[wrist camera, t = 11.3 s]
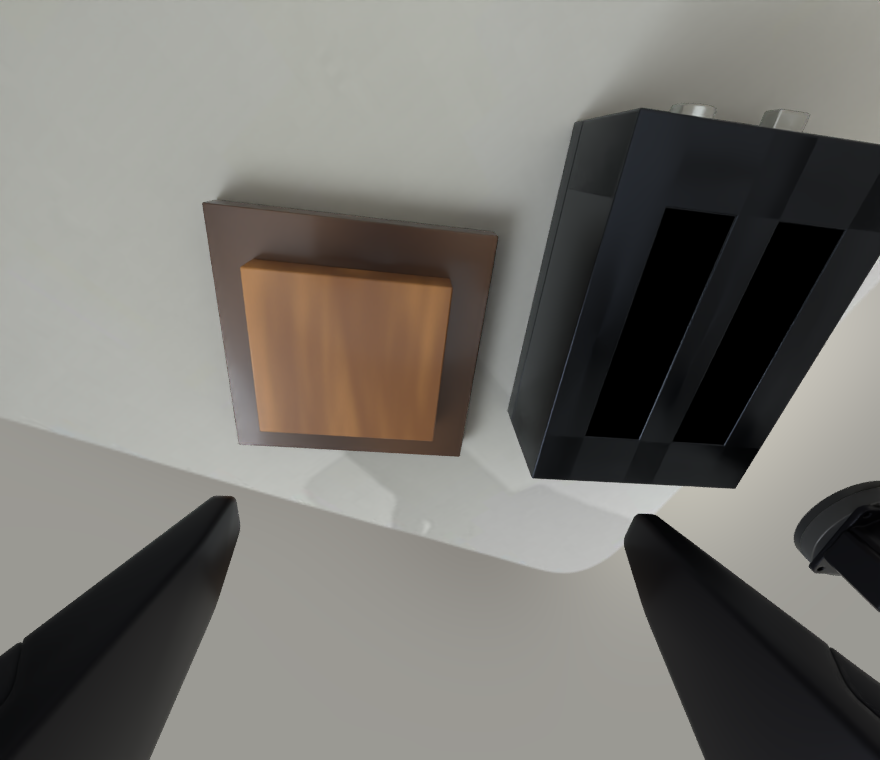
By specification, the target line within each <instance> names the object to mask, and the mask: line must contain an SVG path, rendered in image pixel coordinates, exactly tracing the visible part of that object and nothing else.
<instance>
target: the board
mask: <svg viewBox="0 0 880 760" xmlns="http://www.w3.org/2000/svg"><path fill="white" fill-rule="evenodd" d="M202 205H203V211H204V218H205V224H206V231H207V238H208V244H209V251H210V257H211V264H212V270H213V277H214V284H215V290H216V297H217V303H218V310H219V316H220V323H221V330H222V336H223V343H224V349H225V356H226V362H227V369H228V376H229V382H230V389H231V395H232V402H233V409H234V415H235V422H236V428H237V435H238V441H239V444H242V445H260V446H278V447H296V448H314V449H331V450H349V451H367V452H385V453H403V454H421V455H439V456H456V457H459V456H460V452H461V446H462V441H463V435H464V429H465V424H466V418H467V412H468V407H469V401H470V395H471V390H472V384H473V378H474V373H475V367H476V361H477V356H478V350H479V344H480V339H481V333H482V327H483V322H484V316H485V310H486V305H487V299H488V293H489V288H490V282H491V276H492V270H493V265H494V259H495V253H496V248H497V242H498V236H497V235H496V234H495V233H494V232H492V231H483V230H474V229H466V228H457V227H448V226H440V225H431V224H422V223H414V222H405V221H396V220H388V219H379V218H370V217H361V216H353V215H344V214H335V213H327V212H318V211H309V210H301V209H292V208H283V207H274V206H266V205H257V204H248V203H240V202H231V201H222V200H212V201H207V202H203V203H202ZM252 259H257V260H267V261H277V262H287V263H297V264H307V265H317V266H327V267H337V268H347V269H357V270H367V271H377V272H388V273H398V274H408V275H418V276H428V277H438V278H448V279H450V280H451V283H452V287H453V292H452V300H451V308H450V315H449V323H448V331H447V338H446V346H445V354H444V361H443V369H442V377H441V384H440V392H439V400H438V407H437V415H436V423H435V430H434V438H433V441H419V440H402V439H384V438H367V437H350V436H332V435H315V434H298V433H281V432H263V431H260V428H259V420H258V411H257V403H256V395H255V387H254V378H253V370H252V362H251V354H250V345H249V337H248V329H247V321H246V313H245V304H244V296H243V288H242V280H241V271H240V267H241V266H242V265H244V264H245V263H247V262H249V261H250V260H252Z"/></svg>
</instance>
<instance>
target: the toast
mask: <svg viewBox="0 0 880 760" xmlns="http://www.w3.org/2000/svg"><path fill="white" fill-rule="evenodd" d="M240 271H241V280H242V288H243V296H244V304H245V313H246V321H247V329H248V337H249V345H250V354H251V362H252V370H253V378H254V387H255V395H256V403H257V411H258V420H259V428H260V431H263V432H281V433H298V434H315V435H332V436H350V437H367V438H384V439H402V440H419V441H433V438H434V430H435V423H436V415H437V407H438V400H439V392H440V384H441V377H442V369H443V361H444V354H445V346H446V338H447V331H448V323H449V315H450V308H451V300H452V292H453V287H452V283H451V280H450V279H448V278H438V277H428V276H418V275H408V274H398V273H388V272H377V271H367V270H357V269H347V268H337V267H327V266H317V265H307V264H297V263H287V262H277V261H267V260H257V259H252V260H250V261H249V262H247V263H245V264H244V265H242V266H241V267H240Z"/></svg>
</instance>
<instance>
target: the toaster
mask: <svg viewBox="0 0 880 760" xmlns="http://www.w3.org/2000/svg"><path fill="white" fill-rule="evenodd" d="M715 113H716V108H715V107H713V106H710V105H704V104H693V103H683V104H676V105H673V106H672V107H671V110H670V112H667V111H660V110H654V109H647V108H638V109H634V110H629V111H625V112H620V113H615V114H611V115H606V116H602V117H597V118H593V119H588V120H583V121H578V122H575V123H574V128H573V132H572V136H571V140H570V145H569V149H568V153H567V158H566V162H565V166H564V171H563V175H562V179H561V184H560V188H559V192H558V196H557V201H556V205H555V209H554V214H553V218H552V222H551V227H550V231H549V235H548V239H547V244H546V248H545V252H544V257H543V261H542V265H541V270H540V274H539V278H538V283H537V287H536V291H535V295H534V300H533V304H532V308H531V313H530V317H529V321H528V326H527V330H526V334H525V338H524V343H523V347H522V351H521V356H520V360H519V364H518V369H517V373H516V377H515V381H514V386H513V390H512V394H511V399H510V403H509V407H508V414H509V417H510V419H511V422H512V425H513V427H514V430H515V433H516V436H517V438H518V441H519V444H520V447H521V449H522V452H523V455H524V458H525V460H526V463H527V466H528V468H529V471H530V474H531V477H532V478H538V479H557V480H578V481H597V482H617V483H636V484H656V485H675V486H695V487H712V488H732V489H735V488H736V487H737V485H738V483H739V482H740V480H741V478H742V477H743V475H744V474H745V472H746V470H747V469H748V467H749V466H750V464H751V462H752V461H753V459H754V457H755V456H756V454H757V453H758V451H759V449H760V448H761V446H762V445H763V443H764V441H765V440H766V438H767V437H768V435H769V433H770V432H771V430H772V428H773V427H774V425H775V424H776V422H777V420H778V419H779V417H780V415H781V414H782V412H783V411H784V409H785V407H786V406H787V404H788V402H789V401H790V399H791V398H792V396H793V395H794V393H795V391H796V390H797V388H798V386H799V385H800V383H801V382H802V380H803V378H804V377H805V375H806V374H807V372H808V370H809V369H810V367H811V366H812V364H813V362H814V361H815V359H816V357H817V356H818V354H819V352H820V351H821V349H822V348H823V346H824V345H825V343H826V341H827V340H828V338H829V336H830V335H831V333H832V332H833V330H834V328H835V327H836V325H837V324H838V322H839V320H840V319H841V317H842V315H843V314H844V312H845V311H846V309H847V307H848V306H849V304H850V303H851V301H852V299H853V298H854V296H855V294H856V293H857V291H858V290H859V288H860V286H861V285H862V283H863V282H864V280H865V278H866V277H867V275H868V273H869V272H870V270H871V269H872V267H873V265H874V264H875V262H876V261H877V259H878V257H879V256H880V144H874V143H868V142H861V141H855V140H848V139H842V138H835V137H829V136H822V135H816V134H809V133H803V132H802V131H803V129H804V127H805V125H806V123H807V121H808V119H809V116H810V114H809V113H804V112H798V111H792V110H785V109H777V110H770V111H766V112H765V113H764V115H763V117H762V120H761V122H760V125H759V126H757V125H750V124H744V123H737V122H731V121H724V120H718V119H714V116H715Z"/></svg>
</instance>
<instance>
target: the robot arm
mask: <svg viewBox="0 0 880 760" xmlns="http://www.w3.org/2000/svg"><path fill="white" fill-rule="evenodd" d="M239 531H240V520H239V514H238V509H237V502H236V499H235V498H234V497H232V496H213V497H211V498H210V499H209V500H207V501H206V502H204V503H203V504H202V505H200V506H199V507H198V508H196V509H195V510H194V511H192V512H191V513H190V514H188V515H187V516H186V517H184V518H183V519H182V520H180V521H179V522H178V523H177V524H175V525H174V526H172V527H171V528H170V529H169V530H167V531H166V532H165V533H163V534H162V535H161V536H159V537H158V538H157V539H155V540H154V541H153V542H151V543H150V544H149V545H147V546H146V547H145V548H143V549H142V550H141V551H139V552H138V553H137V554H135V555H134V556H133V557H131V558H130V559H129V560H128V561H126V562H125V563H123V564H122V565H121V566H119V567H118V568H117V569H115V570H114V571H113V572H112V573H110V574H109V575H108V576H106V577H105V578H104V579H102V580H101V581H100V582H98V583H97V584H96V585H94V586H93V587H92V588H90V589H89V590H88V591H86V592H85V593H84V594H82V595H81V596H80V597H78V598H77V599H76V600H74V601H73V602H72V603H70V604H69V605H68V606H66V607H65V608H64V609H62V610H61V611H60V612H59V613H57V614H56V615H54V616H53V617H52V618H50V619H49V620H48V621H46V622H45V623H44V624H42V625H41V626H40V627H38V628H37V629H36V630H34V631H33V632H32V633H30V634H29V635H28V636H27V637H25V638H24V640H23V643H21V642H20V643H17V644H16V645H14V646H13V647H12V648H10V649H9V650H8V651H6V652H5V653H4V654H2V655H1V656H0V760H149V759H150V757H151V755H152V753H153V750H154V748H155V746H156V743H157V741H158V739H159V737H160V734H161V732H162V730H163V727H164V725H165V723H166V720H167V718H168V716H169V714H170V711H171V709H172V707H173V704H174V702H175V700H176V698H177V695H178V693H179V691H180V688H181V686H182V684H183V681H184V679H185V677H186V675H187V672H188V670H189V668H190V665H191V663H192V661H193V659H194V656H195V654H196V652H197V649H198V647H199V645H200V642H201V640H202V638H203V636H204V633H205V631H206V628H207V626H208V624H209V622H210V620H211V617H212V615H213V612H214V610H215V607H216V604H217V601H218V599H219V596H220V592H221V589H222V586H223V583H224V580H225V576H226V573H227V570H228V567H229V564H230V561H231V558H232V555H233V551H234V548H235V545H236V542H237V538H238V535H239ZM624 547H625V550H626V554H627V557H628V561H629V564H630V567H631V570H632V574H633V577H634V580H635V583H636V587H637V589H638V593H639V596H640V599H641V603H642V606H643V608H644V612H645V615H646V617H647V620H648V622H649V625H650V627H651V630H652V632H653V634H654V637H655V639H656V642H657V644H658V647H659V649H660V652H661V654H662V656H663V659H664V661H665V663H666V666H667V668H668V671H669V673H670V676H671V678H672V681H673V683H674V686H675V688H676V690H677V693H678V695H679V698H680V700H681V703H682V705H683V707H684V710H685V712H686V715H687V717H688V719H689V722H690V724H691V727H692V729H693V732H694V734H695V736H696V739H697V741H698V744H699V746H700V748H701V751H702V753H703V756H704V758H705V760H880V683H879V682H878V681H876V680H875V679H873V678H872V677H871V676H869V675H868V674H867V673H865V672H864V671H863V670H861V669H860V668H858V667H857V666H856V665H854V664H853V663H852V662H850V661H849V660H848V659H846V658H845V657H844V656H843V655H841V654H840V653H839V652H837V651H836V650H834V649H833V648H829V646H828V645H827V644H826V643H825V642H824V641H822V640H821V639H820V638H819V637H817V636H816V635H815V634H813V633H812V632H811V631H809V630H808V629H807V628H805V627H804V626H802V625H801V624H800V623H799V622H797V621H796V620H795V619H793V618H792V617H791V616H789V615H788V614H787V613H785V612H784V611H783V610H781V609H780V608H779V607H777V606H776V605H775V604H773V603H772V602H771V601H769V600H768V599H767V598H765V597H764V596H763V595H761V594H760V593H759V592H757V591H756V590H755V589H753V588H752V587H751V586H749V585H748V584H746V583H745V582H744V581H743V580H741V579H740V578H739V577H738V576H736V575H735V574H733V573H732V572H731V571H730V570H728V569H727V568H726V567H724V566H723V565H722V564H720V563H719V562H718V561H716V560H715V559H714V558H712V557H711V556H710V555H708V554H707V553H706V552H704V551H703V550H701V549H700V548H699V547H698V546H696V545H695V544H694V543H692V542H691V541H690V540H688V539H687V538H686V537H684V536H683V535H682V534H680V533H679V532H678V531H676V530H675V529H674V528H672V527H671V526H670V525H668V524H667V523H666V522H664V521H663V520H662V519H660V518H659V517H658V516H656V515H653V514H637V515H636V516H635V517H634V519H633V521H632V523H631V525H630V527H629V529H628V531H627V533H626V535H625V538H624ZM809 568H810V569H811V570H812V571H813V572H814V573H825V574H840V575H841V576H842V577H843V578H844V579H845V580H846V581H847V582H848V583H849V584H850V585H851V586H852V587H853V588H854V589H856V590H857V591H858V592H859V593H860V594H861V595H862V596H863V597H864V598H865V599H866V600H867V601H868V602H869V603H870V604H871V605H872V606H873V607H874V608H875V609H876V610H877V611H878V612H880V506H878V505H862V506H860V507H858V508H856V509H855V510H854V512H853V513H852V514H851V515H850V516H849V518H848V519H847V520H846V521H845V522H844V524H843V525H842V526H841V527H840V528H839V530H838V531H837V532H836V533H835V534H834V536H833V537H832V538H831V539H830V540H829V541H828V543H827V544H826V545H825V546H824V547H823V549H822V550H821V551H820V552H819V553H818V555H817V556H816V557H815V558H814V559H813V561H812V562H811V563H810V564H809Z"/></svg>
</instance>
